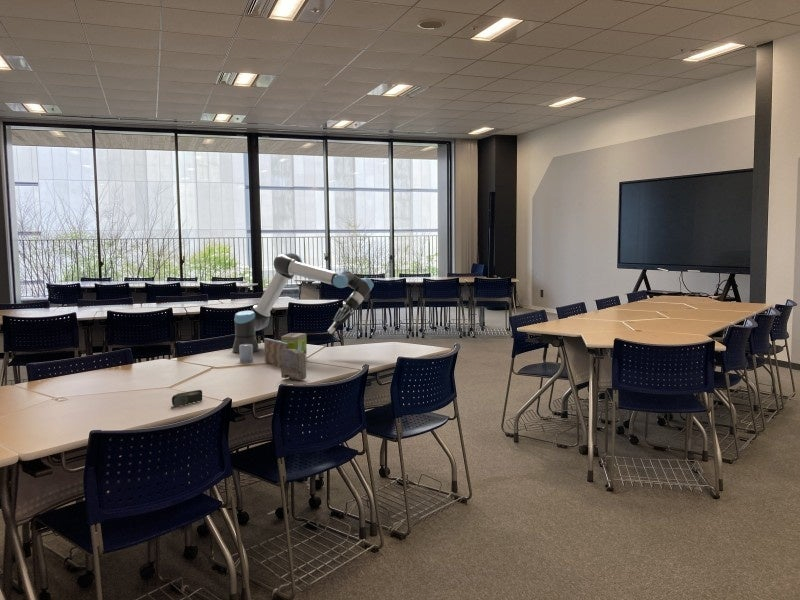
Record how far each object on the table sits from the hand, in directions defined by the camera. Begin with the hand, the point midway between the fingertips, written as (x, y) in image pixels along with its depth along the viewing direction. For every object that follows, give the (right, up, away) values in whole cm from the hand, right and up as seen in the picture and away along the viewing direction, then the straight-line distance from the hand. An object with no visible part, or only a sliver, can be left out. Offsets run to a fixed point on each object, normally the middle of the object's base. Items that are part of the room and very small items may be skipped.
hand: (329, 332), depth 351 cm
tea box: (-18, -16, -12) cm, 26 cm away
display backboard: (-26, -16, -21) cm, 37 cm away
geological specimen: (-10, -20, -58) cm, 62 cm away
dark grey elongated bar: (-46, -24, -100) cm, 113 cm away
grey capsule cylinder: (-44, -15, -11) cm, 48 cm away
